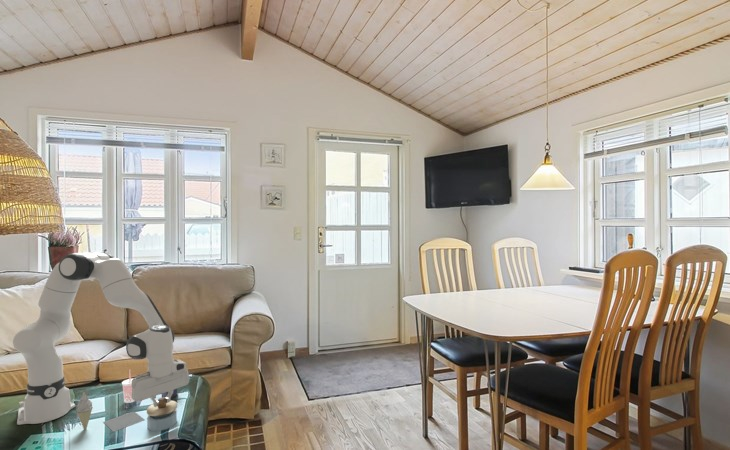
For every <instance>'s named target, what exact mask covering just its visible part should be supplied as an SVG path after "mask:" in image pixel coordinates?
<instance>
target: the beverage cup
mask: <svg viewBox="0 0 730 450" xmlns="http://www.w3.org/2000/svg"><path fill="white" fill-rule="evenodd" d="M128 374H129V376H128V377H129V378H128V379H124V380H123V381H121V385H122V392H123V399H124V400H123V401H124V403H125V404H130V403H134V402H135V401H134V400H133V399H132V380H133V378H132V377H131V369H128ZM134 378H135V377H134ZM135 379H136V378H135Z"/></svg>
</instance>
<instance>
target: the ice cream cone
mask: <svg viewBox="0 0 730 450" xmlns="http://www.w3.org/2000/svg"><path fill="white" fill-rule="evenodd" d="M75 407H76V409H75V410H76V413H77V415H78V418H79V421H80V423H81V425H82V426H81V427H82V429H83V430H84V431H86V430H87V428H88V424H89V421H90V418H91V414H92V411H93V409H94V408H93V402H92V400H91V399H89V397H88V395H87V394H86V392H85V391H83V392H82V394H81V396H80V398H79V402H78V403H77V405H75Z"/></svg>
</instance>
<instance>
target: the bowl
mask: <svg viewBox="0 0 730 450" xmlns="http://www.w3.org/2000/svg"><path fill="white" fill-rule="evenodd" d="M177 411H178V410H177V408H176V409H175V410H174V411H173V412H171V413H169V414H166V415H162V416H150V415H148V414H147V418H146V422H147V423H146V424H147V425H146V426H147V429H148V430H149V431H153V432H160V431H165V430H167V429H170V428H172V427H173V426H175V425H176V424H177V420H178V416H177V415H178V414H177Z"/></svg>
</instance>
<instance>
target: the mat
mask: <svg viewBox="0 0 730 450" xmlns="http://www.w3.org/2000/svg"><path fill="white" fill-rule="evenodd" d="M143 421H145V419H144V418H143V417H142V416H141V415H139V414H138V413H137V412H136V411H134V410H133V411H131V412H127V413H124V414H122V415H119V416H116V417H114V418H111V419H108V420H105V421H103V424H104V425H105V426H106V427H108V428H109V429H110V430H111V431H112V432H113V433H114V432H115V433H116V432H117V431H120V430H122V429H125V428H127V427H130V426H133V425H135V424H138V423H141V422H143Z"/></svg>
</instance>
